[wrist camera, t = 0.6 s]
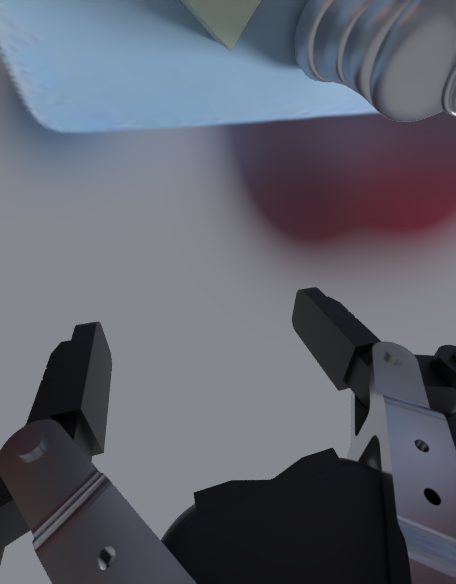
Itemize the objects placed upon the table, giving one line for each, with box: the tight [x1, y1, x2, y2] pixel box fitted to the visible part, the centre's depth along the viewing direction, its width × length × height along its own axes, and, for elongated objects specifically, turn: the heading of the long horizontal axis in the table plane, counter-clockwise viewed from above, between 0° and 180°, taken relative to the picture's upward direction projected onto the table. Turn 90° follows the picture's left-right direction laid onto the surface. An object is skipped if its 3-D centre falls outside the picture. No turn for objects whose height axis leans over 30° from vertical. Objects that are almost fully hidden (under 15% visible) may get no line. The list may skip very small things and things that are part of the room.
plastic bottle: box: [294, 0, 456, 121], centre depth 19 cm, size 6×7×20 cm
